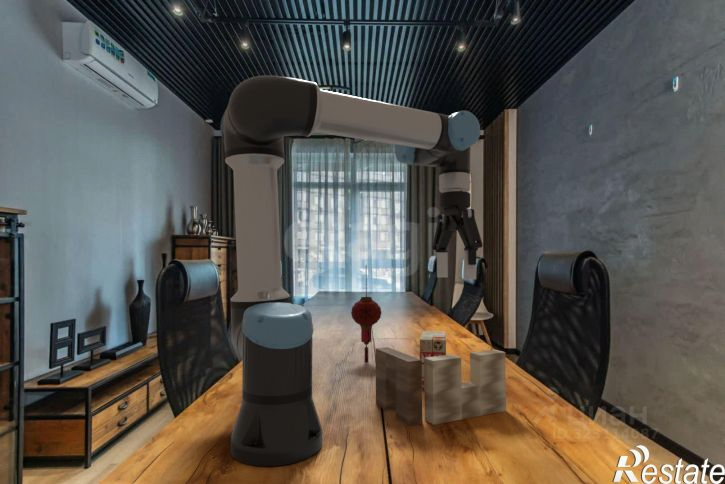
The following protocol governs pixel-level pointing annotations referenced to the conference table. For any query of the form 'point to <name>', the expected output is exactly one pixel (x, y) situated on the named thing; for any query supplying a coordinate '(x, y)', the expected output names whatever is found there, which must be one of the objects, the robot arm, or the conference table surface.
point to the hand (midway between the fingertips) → (455, 278)
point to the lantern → (366, 317)
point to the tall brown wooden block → (399, 384)
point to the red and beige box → (431, 346)
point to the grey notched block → (464, 386)
